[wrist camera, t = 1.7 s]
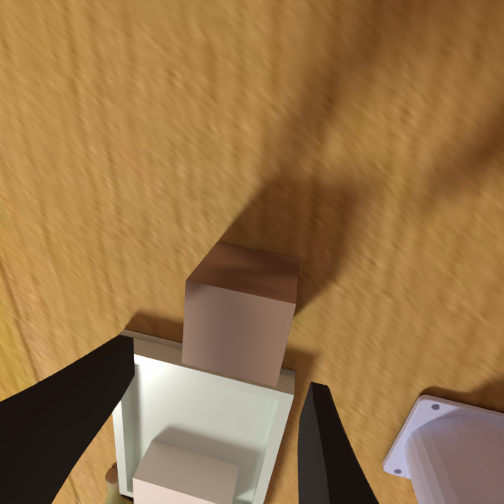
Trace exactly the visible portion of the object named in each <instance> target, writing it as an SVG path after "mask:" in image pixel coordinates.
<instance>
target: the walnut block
mask: <svg viewBox="0 0 504 504" xmlns="http://www.w3.org/2000/svg"><path fill="white" fill-rule="evenodd" d="M298 270H299V258H295V257H290V256H285V255H280V254H275V253H270V252H265V251H260V250H255V249H250V248H245V247H240V246H235V245H230V244H225V243H220V242H217V243H216V244H215V245H214V247H213V248H212V249H211V250H210V251H209V253H208V254H207V255H206V256H205V258H204V259H203V260H202V261H201V262H200V264H199V265H198V266H197V267H196V269H195V270H194V271H193V272H192V273H191V275H190V276H189V277H188V278H187V280H186V288H185V308H184V327H183V347H182V363H183V364H187V365H191V366H195V367H199V368H203V369H207V370H211V371H215V372H219V373H223V374H227V375H231V376H235V377H239V378H243V379H247V380H251V381H255V382H259V383H263V384H266V385H270V386H274V387H276V386H277V382H278V378H279V373H280V369H281V365H282V361H283V357H284V353H285V349H286V345H287V340H288V336H289V332H290V328H291V324H292V320H293V316H294V312H295V307H296V301H297V286H298Z"/></svg>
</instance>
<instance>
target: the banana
mask: <svg viewBox="0 0 504 504" xmlns="http://www.w3.org/2000/svg"><path fill="white" fill-rule="evenodd" d="M105 480H106V483H107V486H108V496H107V499H106V502H105V504H134V503H133V502H132V501H130V500H129V499H127V498H126V497H124V496H121V494H120V491H119V479H118V469H116V468H110V469H109V470H108V472H107V474H106V476H105Z"/></svg>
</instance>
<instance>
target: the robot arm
mask: <svg viewBox="0 0 504 504" xmlns="http://www.w3.org/2000/svg"><path fill="white" fill-rule="evenodd" d="M134 376H135V361H134V338H132V337H128V336H124V335H120V334H119V335H118V336H116V337H114V338H113V339H111V340H110V341H108V342H106V343H105V344H103V345H101V346H100V347H98V348H97V349H95V350H93V351H92V352H90V353H88V354H87V355H85V356H84V357H82V358H80V359H79V360H77V361H75V362H74V363H72V364H70V365H69V366H67V367H65V368H64V369H62V370H60V371H58V372H56V373H55V374H53V375H51V376H49V377H47V378H46V379H44V380H42V381H40V382H38V383H37V384H35V385H33V386H31V387H29V388H27V389H25V390H23V391H21V392H19V393H17V394H15V395H13V396H11V397H9V398H7V399H5V400H3V401H1V402H0V504H52V502H53V500H54V499H55V497H56V495H57V494H58V492H59V490H60V489H61V487H62V485H63V484H64V482H65V480H66V479H67V477H68V475H69V474H70V472H71V470H72V469H73V467H74V466H75V464H76V463H77V461H78V460H79V458H80V457H81V455H82V454H83V453H84V451H85V450H86V448H87V447H88V446H89V444H90V443H91V441H92V440H93V439H94V437H95V436H96V434H97V433H98V432H99V430H100V429H101V427H102V426H103V425H104V423H105V422H106V420H107V419H108V418H109V416H110V415H111V413H112V412H113V411H114V409H115V408H116V406H117V405H118V403H119V402H120V401H121V399H122V397H123V396H124V394H125V392H126V390H127V389H128V387H129V385H130V383H131V381H132V379H133V378H134ZM434 404H435V405H434ZM383 469H384V471H386V472H387V473H390V474H394V475H397V476H401V477H405V478H408V479H411V481H412V484H413V488H414V491H415V494H416V498H417V501H418V504H504V413H500V412H496V411H492V410H487V409H483V408H479V407H475V406H471V405H467V404H463V403H459V402H455V401H450V400H446V399H442V398H438V397H434V396H430V395H422V396H420V397H419V398H418V399H417V401H416V403H415V405H414V406H413V408H412V410H411V412H410V414H409V416H408V417H407V419H406V421H405V423H404V425H403V427H402V429H401V430H400V432H399V434H398V436H397V438H396V440H395V441H394V443H393V445H392V447H391V449H390V451H389V452H388V454H387V456H386V458H385V460H384V462H383ZM298 491H299V504H379V502H378V501H377V499H376V497H375V495H374V493H373V491H372V489H371V487H370V485H369V483H368V481H367V479H366V477H365V475H364V473H363V471H362V469H361V467H360V465H359V463H358V460H357V458H356V456H355V454H354V452H353V449H352V447H351V445H350V442H349V440H348V438H347V435H346V433H345V430H344V428H343V426H342V423H341V420H340V418H339V415H338V412H337V410H336V407H335V404H334V401H333V398H332V395H331V392H330V389H329V387H328V386H327V385H323V384H319V383H315V382H311V383H310V387H309V390H308V393H307V396H306V399H305V403H304V406H303V409H302V412H301V415H300V421H299V434H298Z"/></svg>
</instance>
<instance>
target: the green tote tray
mask: <svg viewBox="0 0 504 504" xmlns="http://www.w3.org/2000/svg"><path fill="white" fill-rule="evenodd" d="M120 335H124V336H128V337H132V338H134V361H135V376H134V378H133V379H132V381H131V383H130V385H129V387H128V389H127V390H126V392H125V394H124V396H123V397H122V399H121V401H120V402H119V403H118V405H117V406H116V408H115V409H114V411H113V424H114V435H115V446H116V457H117V468H118V479H119V491H120V494H123V495H126V496H130V497H133V498H134V494H133V476H134V474H135V472H136V470H137V468H138V466H139V464H140V462H141V460H142V458H143V456H144V454H145V452H146V451H147V449H148V447H149V445H150V443H151V441H155V442H159V443H162V444H166V445H169V446H173V447H176V448H179V449H183V450H186V451H190V452H193V453H197V454H200V455H204V456H207V457H211V458H214V459H218V460H221V461H224V462H228V463H231V464H235V465H238V466H239V471H238V476H237V481H236V486H235V491H234V496H233V501H232V504H263V503H264V499H265V496H266V492H267V489H268V485H269V482H270V478H271V475H272V471H273V468H274V464H275V461H276V457H277V454H278V450H279V447H280V443H281V440H282V436H283V433H284V429H285V426H286V422H287V419H288V415H289V412H290V408H291V405H292V401H293V398H294V389H295V371H292V370H288V369H284V368H281V369H280V373H279V378H278V382H277V386H276V387H274V386H270V385H266V384H263V383H259V382H255V381H251V380H247V379H243V378H239V377H235V376H231V375H227V374H223V373H219V372H215V371H211V370H207V369H203V368H199V367H195V366H191V365H187V364H183V363H182V347H183V344H182V343H178V342H174V341H170V340H166V339H162V338H158V337H154V336H150V335H146V334H142V333H138V332H134V331H130V330H126V329H123V330H122V331H121V333H120Z"/></svg>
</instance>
